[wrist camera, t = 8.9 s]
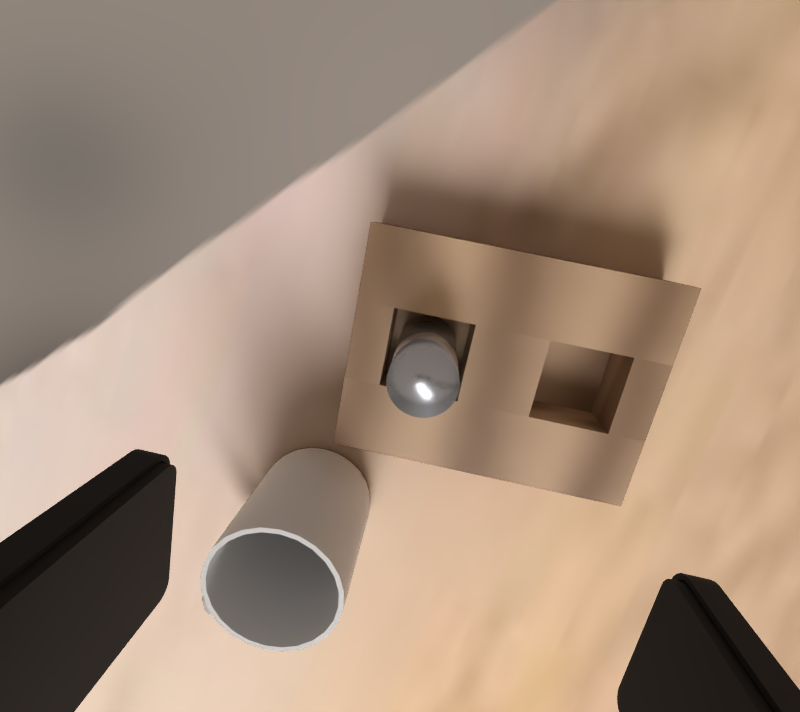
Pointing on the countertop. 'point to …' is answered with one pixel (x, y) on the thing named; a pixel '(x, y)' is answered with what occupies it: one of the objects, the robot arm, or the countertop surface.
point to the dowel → (424, 368)
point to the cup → (289, 553)
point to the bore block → (515, 361)
